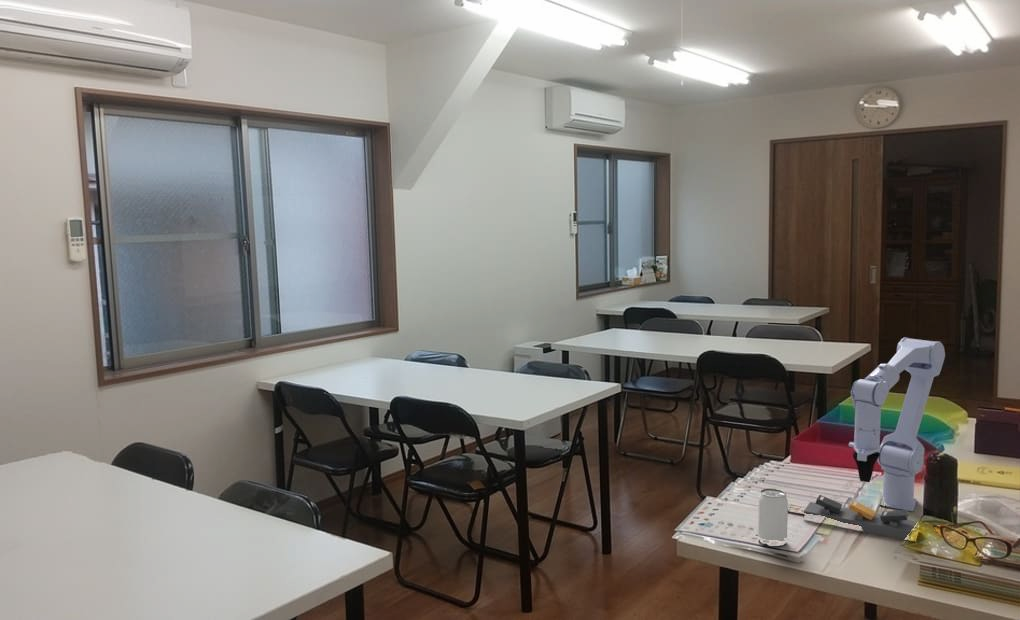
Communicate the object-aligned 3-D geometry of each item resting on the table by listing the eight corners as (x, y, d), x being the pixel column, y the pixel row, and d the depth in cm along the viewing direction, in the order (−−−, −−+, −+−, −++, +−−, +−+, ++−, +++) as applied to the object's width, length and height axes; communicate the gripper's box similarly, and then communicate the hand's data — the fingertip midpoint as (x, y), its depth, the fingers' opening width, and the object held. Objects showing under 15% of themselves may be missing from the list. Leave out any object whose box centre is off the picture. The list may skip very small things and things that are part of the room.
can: (788, 548, 172) (790, 498, 170) (759, 546, 173) (760, 497, 172) (784, 536, 178) (785, 488, 177) (756, 535, 180) (757, 487, 178)
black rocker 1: (817, 500, 190) (819, 494, 190) (840, 510, 187) (842, 504, 187) (814, 505, 187) (816, 499, 187) (837, 515, 184) (839, 508, 184)
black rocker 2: (884, 518, 182) (882, 511, 182) (909, 517, 179) (907, 510, 179) (882, 523, 179) (880, 516, 179) (907, 522, 176) (905, 515, 176)
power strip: (789, 507, 196) (790, 494, 196) (919, 531, 179) (920, 517, 179) (783, 516, 190) (783, 503, 190) (916, 542, 174) (917, 528, 173)
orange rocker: (849, 505, 186) (852, 499, 185) (872, 517, 183) (875, 511, 183) (847, 510, 183) (850, 504, 182) (870, 522, 180) (873, 516, 180)
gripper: (854, 419, 193) (852, 469, 195) (844, 433, 181) (842, 487, 183) (885, 422, 189) (882, 474, 191) (876, 437, 177) (874, 492, 179)
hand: (865, 481), depth 186 cm, fingers closed
